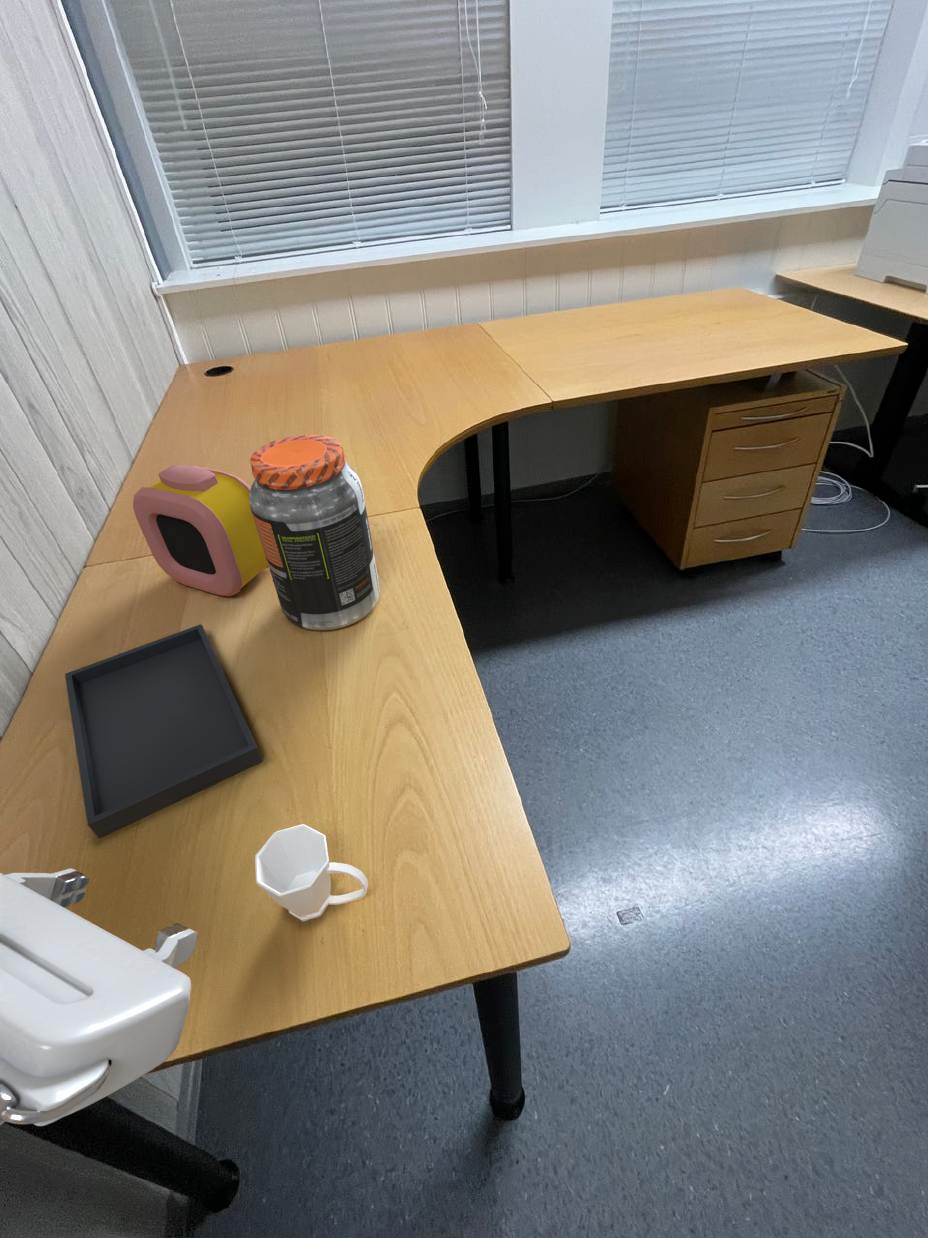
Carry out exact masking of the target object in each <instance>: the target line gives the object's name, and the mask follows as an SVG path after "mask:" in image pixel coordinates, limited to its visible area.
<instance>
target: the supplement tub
mask: <svg viewBox="0 0 928 1238" xmlns="http://www.w3.org/2000/svg"><path fill="white" fill-rule="evenodd" d="M249 463H250V467H251V475H252V477H253V478H254V481H253V482H252V484H251V486H250V487H251V489H250V494H249V503H250V508H251V511H252V514H253V518H254V521H255V524H256V527H257V530H258V534H259V537H260V540H261V543H262V546H263V550H264V553H265V556H266V559H267V562H268V566H269V567H268V568H269V572H270V575H271V579H272V582H273V585H274V588H275V592H276V595H277V598H278V601H279V605H280V608H281V610H282V613H283V614H284V616H285V617H286V618H287V619H288V621H290V622H291V623H292V624H294V625H296V626H298V627H300V628H303V629H305V630H306V629H307V630H310V631H330V630H337V629H342V628H346V627H348V626H350V625H354V624H356V623H357V622H359V621H361V620H362V619H364V618H365V617H367V616H368V615H369V614H370V613H371V612H372V611H373V610H374V609H375V606H376V605H377V603H378V600H379V597H380V583H379V576H378V571H377V570H378V569H377V563H376V559H375V553H374V546H373V541H372V535H371V527H370V524H369V518H368V512H367V507H366V501H365V495H364V491H363V485H362V481H361V479H360V477H359V476H358V474H357V472H356V471H355V470H354V469H353V468H352V467H351V466H350V465H349V464H348V463H347V457H346V455H345V452H344V448H343V445H342V443H341V442H340V441H339V440H337V439H336V438H334V437H331V436H328V435H321V434H300V435H292V436H286V437H282V438H279V439H276V440H273V441H270V442H267V443H266V444H264V445H262V446H260V447H259V448H258V449H256V450H255V451H254V452H253V453H252V455H251V456H250V459H249Z"/></svg>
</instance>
